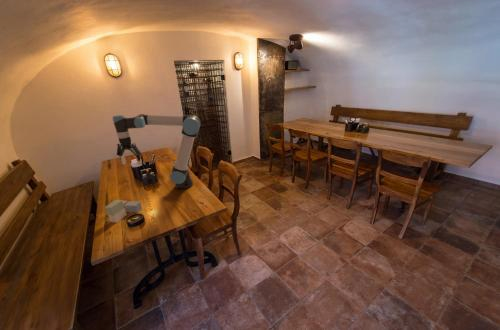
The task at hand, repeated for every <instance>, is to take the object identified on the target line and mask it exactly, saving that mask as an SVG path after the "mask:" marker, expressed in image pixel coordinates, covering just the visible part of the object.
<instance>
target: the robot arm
mask: <svg viewBox="0 0 500 330" xmlns="http://www.w3.org/2000/svg"><path fill="white" fill-rule="evenodd" d="M112 121H113V125H114V128H115V130H116V131H115V132H116V136H117V138H118V143H117V144H116V145H117V149H116V156H119V159H120V160H121V164H122V165H125V164H126V163H127V162H126V158H125V155H124V153H125V151H130V152H131V153H132V154H133V155H134V156H135V161H136V162H137V163H136V164H137V166H140V165H142V162H141V156H143V154H142V152H141V151H140V149H139V148H138V147H137V145H136V143H132V139H131V136H130V132H129V130H130V129H143V128H145V127H146V125H147V126H169V127H170V126H173V127H182V128H181V134H182V138H181V142H180V145H179V150H178V154H177V157H176V160H175V161H173V165H172V167H171V168H172V169H171V173H170V174H169V180H170V181H171V182H172V183H173V184H175V188H176V189H178V190H186V189H189V188H191V187H192V186H193V185H194V180H193V179H192V177H191V176H190V175H191V174H190V168H189V160H190V156H191V153H192V149H193V146H194V145H193V144H194V141H195V139H196V138H198V135H199V131H200V127H201V125H202V124H201V123H202V121H201V119H200V117H199V116H197V115H193V114H189V115H187V114H184V115H183V114H182V116H180V115H179V116H178V115H156V114H155V115H154V114H153V115H151V114H144V113H142V114H141V113H140V114H138V115H136V116H133V117H126V116H125V115H124V114H120V115H119V114H118V115H113V116H112Z"/></svg>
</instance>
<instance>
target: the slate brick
mask: <svg viewBox="0 0 500 330" xmlns="http://www.w3.org/2000/svg"><path fill="white" fill-rule="evenodd" d="M124 206H125V209H126V213H136V214H138V213H139V212H140V211H141V210H142V209H143V207H142V203H141V201H130V200H128V203H126V204H125V205H124Z"/></svg>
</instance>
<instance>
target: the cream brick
mask: <svg viewBox="0 0 500 330" xmlns="http://www.w3.org/2000/svg"><path fill="white" fill-rule="evenodd" d="M126 216H128V213H127V212H126V211H125V208H123V209H122V210H121V211H119V212H118V213H117V214H115V215H114V216H113V215H107V217H108V219H109V223H114V224H115V223H118V222H120V221H121V220H122V219H123V218H125V217H126Z"/></svg>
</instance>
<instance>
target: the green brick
mask: <svg viewBox="0 0 500 330" xmlns="http://www.w3.org/2000/svg"><path fill="white" fill-rule="evenodd" d="M123 208H124V205H123V202H122V199H115V200H113V201H112V202H110V203H108V204H107V205H105V206H104V209H105V211H106V214H107V216H108V215H113V216H114V215H115V214H117V213H118V212H119V211H121V210H122V209H123Z"/></svg>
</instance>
